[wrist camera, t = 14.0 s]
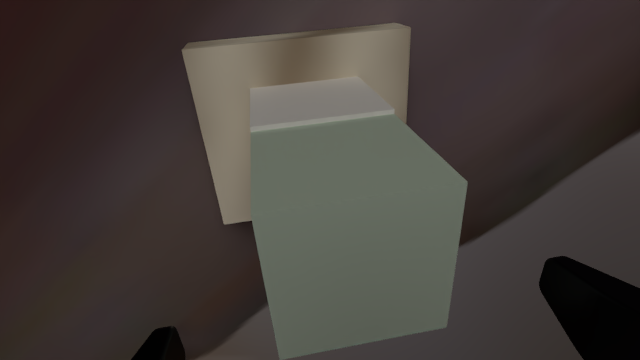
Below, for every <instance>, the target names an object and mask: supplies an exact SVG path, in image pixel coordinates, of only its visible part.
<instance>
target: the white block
mask: <svg viewBox="0 0 640 360" xmlns="http://www.w3.org/2000/svg"><path fill="white" fill-rule="evenodd" d="M394 110H395V109H394V108H393V107H391V106H390V105H389V104H388V103H387V102H386V101H385V100H384V99H383V98H381V97H380V96H379V95H378V94H377V93H376V92H375V91H374V90H373V89H371V88H370V87H369V86H368V85H367V84H366V83H365V82H364V81H363V80H361V79H360V78H359V77H358V76H357V77H348V78H339V79H330V80H321V81H312V82H303V83H294V84H285V85H276V86H267V87H258V88H250V131H251V132H254V131H262V130H270V129H278V128H286V127H294V126H301V125H309V124H317V123H325V122H333V121H341V120H348V119H356V118H364V117H372V116H380V115H388V114H394Z"/></svg>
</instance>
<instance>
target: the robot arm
mask: <svg viewBox="0 0 640 360" xmlns="http://www.w3.org/2000/svg"><path fill="white" fill-rule="evenodd" d="M539 286H540V290H541V292H542V294H543V296H544V298H545V299H546V301H547V302H548V304H549V306H550V307H551V309H552V311H553V312H554V314H555V316H556V317H557V319H558V321H559V322H560V324H561V325H562V327H563V329H564V330H565V332H566V334H567V335H568V337H569V339H570V340H571V342H572V343H573V345H574V346H575V348H576V350H577V351H578V352H579V354H580V355H581V356H582V358H583V359H584V360H640V288H638V287H635V286H633V285H630V284H628V283H626V282H624V281H621V280H619V279H617V278H615V277H612V276H610V275H608V274H605V273H603V272H601V271H598V270H596V269H594V268H592V267H589V266H587V265H585V264H582V263H580V262H578V261H575V260H573V259H570V258H568V257H565V256H560V257H553V258H549V259H547V260H546V262H545V264H544V268H543V271H542V274H541V278H540V281H539ZM131 360H185V350H184V347H183V344H182V342H181V339H180V337H179V334H178V331H177V329H176V328H175V327H174V326H168V327H163V328H158V329H155V330H154V331H153V332H152V333H151V335H150V336H149V337H148V338H147V340H146V341H145V342H144V344H143V345H142V346H141V347H140V349H139V350H138V351H137V353H136V354H135V355H134V356H133V358H132V359H131Z"/></svg>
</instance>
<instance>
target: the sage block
mask: <svg viewBox="0 0 640 360" xmlns="http://www.w3.org/2000/svg"><path fill="white" fill-rule="evenodd" d="M467 183H468V182H467V181H466V180H465V179H464V178H463V177H462V176H461V175H460V174H459V173H458V172H456V171H455V170H454V169H453V168H452V167H451V166H450V165H449V164H448V163H447V162H446V161H445V160H444V159H442V158H441V157H440V156H439V155H438V154H437V153H436V152H435V151H434V150H433V149H432V148H431V147H430V146H429V145H427V144H426V143H425V142H424V141H423V140H422V139H421V138H420V137H419V136H418V135H417V134H416V133H415V132H413V131H412V130H411V129H410V128H409V127H408V126H407V125H406V124H405V123H404V122H403V121H402V120H401V119H400V118H398V117H397V116H396V115H395V114H388V115H380V116H372V117H364V118H356V119H348V120H341V121H333V122H325V123H317V124H309V125H301V126H294V127H286V128H278V129H270V130H262V131H254V132H251V219H252V224H253V229H254V234H255V239H256V244H257V249H258V254H259V259H260V264H261V269H262V274H263V279H264V284H265V289H266V294H267V299H268V304H269V309H270V314H271V319H272V324H273V329H274V334H275V339H276V344H277V349H278V354H279V359H280V360H283V359H288V358H294V357H298V356H304V355H309V354H314V353H319V352H324V351H329V350H334V349H339V348H344V347H349V346H355V345H360V344H364V343H370V342H375V341H380V340H384V339H390V338H395V337H400V336H405V335H410V334H415V333H420V332H426V331H431V330H436V329H441V328H446V327H447V322H448V315H449V308H450V300H451V294H452V287H453V280H454V273H455V266H456V259H457V252H458V246H459V239H460V232H461V225H462V218H463V211H464V204H465V197H466V190H467Z"/></svg>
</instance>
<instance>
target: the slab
mask: <svg viewBox="0 0 640 360" xmlns="http://www.w3.org/2000/svg"><path fill="white" fill-rule="evenodd" d="M410 34H411V27H408V26H404V25H401V24H398V23H389V24H378V25H368V26H358V27H347V28H337V29H327V30H316V31H306V32H295V33H285V34H275V35H264V36H254V37H244V38H233V39H223V40H212V41H202V42H192V43H188V44H187V45H186V46H185V47H184V48H183V49H182V54H183V58H184V62H185V66H186V70H187V74H188V78H189V82H190V86H191V91H192V95H193V99H194V103H195V107H196V111H197V115H198V119H199V124H200V128H201V132H202V136H203V140H204V144H205V148H206V152H207V156H208V161H209V165H210V169H211V173H212V177H213V181H214V185H215V189H216V193H217V198H218V202H219V206H220V210H221V214H222V218H223V222H224V225H225V224H232V223H238V222H245V221H252V219H251V131H250V88H258V87H267V86H276V85H285V84H294V83H303V82H312V81H321V80H330V79H339V78H348V77H357V76H358V77H359V78H360V79H361V80H363V81H364V82H365V83H366V84H367V85H368V86H369V87H370V88H371V89H373V90H374V91H375V92H376V93H377V94H378V95H379V96H380V97H381V98H383V99H384V100H385V101H386V102H387V103H388V104H389V105H390V106H391V107H393V108H394V109H395V110H394V114H395V115H396V116H397V117H398V118H400V119H401V120H402V121H403V122H404V123H405V124H406V116H407V96H408V75H409V55H410Z"/></svg>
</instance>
